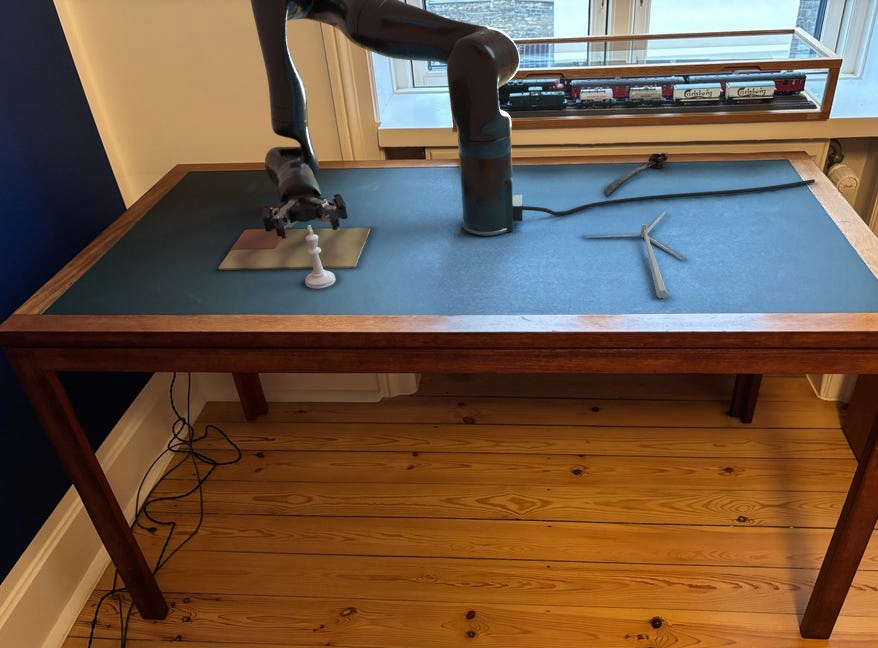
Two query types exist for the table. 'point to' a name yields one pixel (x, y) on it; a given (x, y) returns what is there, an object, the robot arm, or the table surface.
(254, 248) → the corner board
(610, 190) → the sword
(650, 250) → the wind turbine model
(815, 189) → the table surface
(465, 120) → the robot arm
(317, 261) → the chess piece
